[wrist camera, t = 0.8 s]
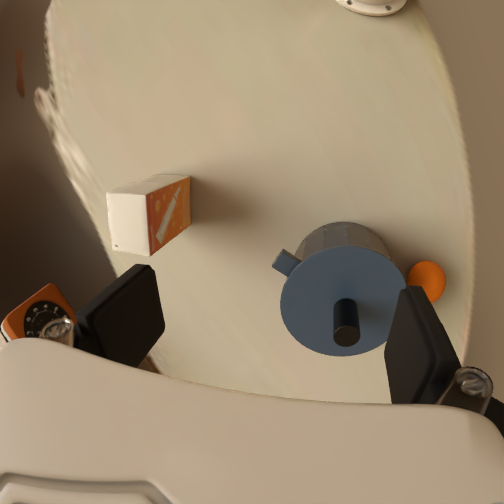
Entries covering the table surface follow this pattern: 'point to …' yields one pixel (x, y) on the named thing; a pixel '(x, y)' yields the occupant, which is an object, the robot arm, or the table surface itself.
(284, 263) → the pot
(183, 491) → the robot arm
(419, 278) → the ball
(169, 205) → the small box
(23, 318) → the alarm clock
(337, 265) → the lid
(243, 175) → the table surface
